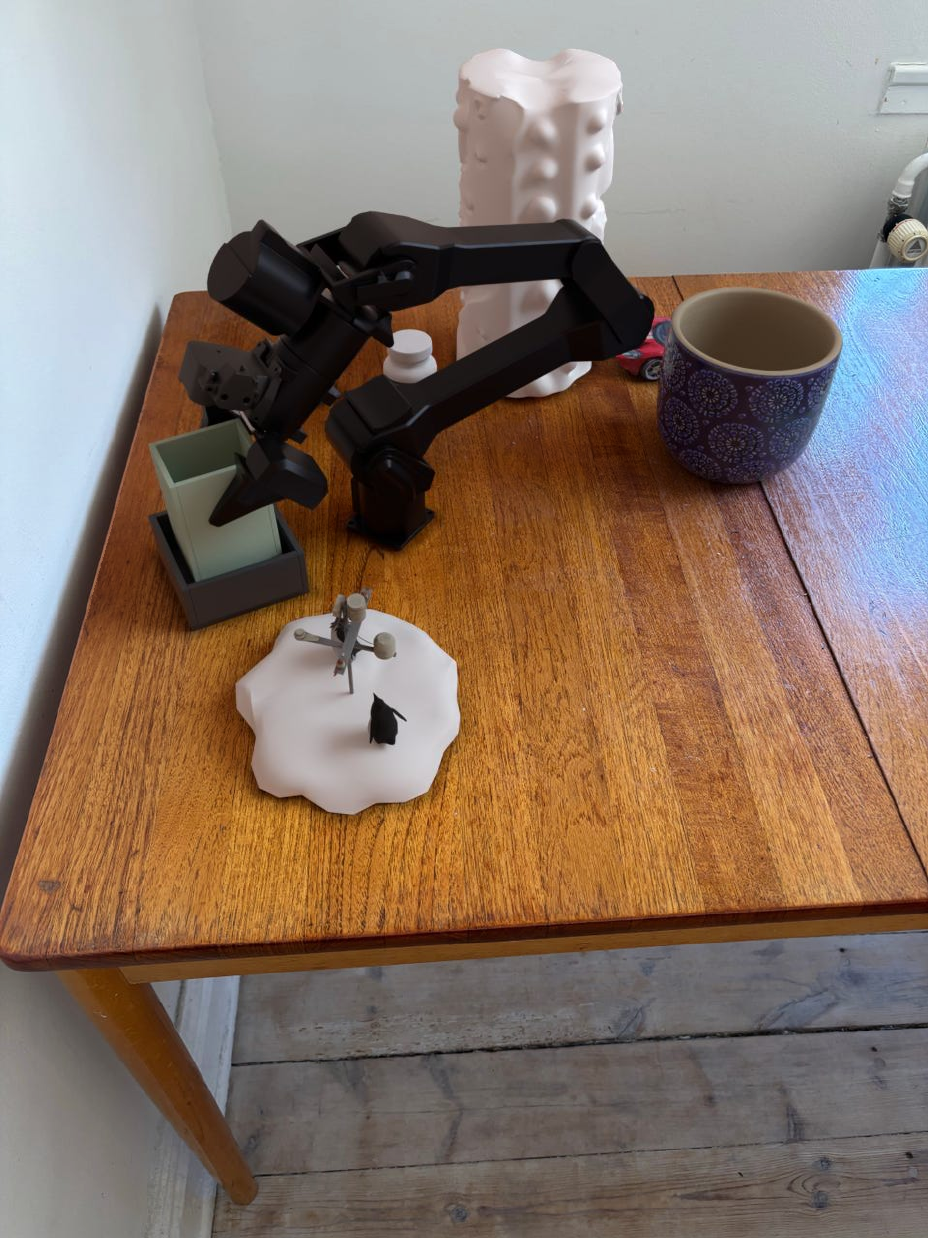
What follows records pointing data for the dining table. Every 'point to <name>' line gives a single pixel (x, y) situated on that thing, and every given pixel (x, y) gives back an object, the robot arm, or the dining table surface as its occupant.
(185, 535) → the green basket
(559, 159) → the vase
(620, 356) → the toy car
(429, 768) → the figurine
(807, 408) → the planter
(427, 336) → the pill bottle
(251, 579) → the charcoal basket
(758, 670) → the dining table surface
